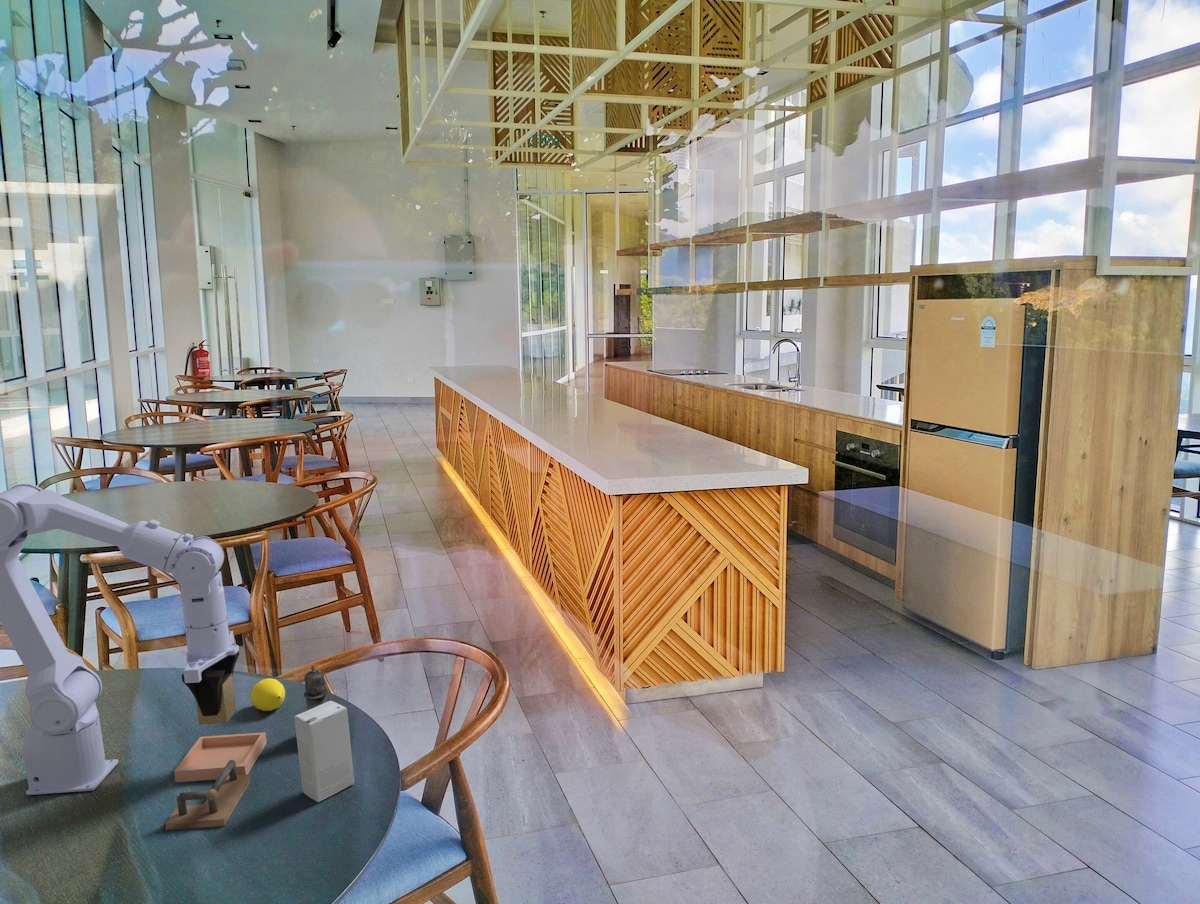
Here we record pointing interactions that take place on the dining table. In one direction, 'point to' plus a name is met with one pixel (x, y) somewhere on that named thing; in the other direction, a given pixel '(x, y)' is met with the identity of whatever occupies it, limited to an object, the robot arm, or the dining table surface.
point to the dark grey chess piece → (314, 689)
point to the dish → (220, 756)
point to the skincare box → (324, 750)
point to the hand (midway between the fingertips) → (216, 707)
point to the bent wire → (210, 802)
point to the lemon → (267, 694)
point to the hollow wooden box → (221, 703)
